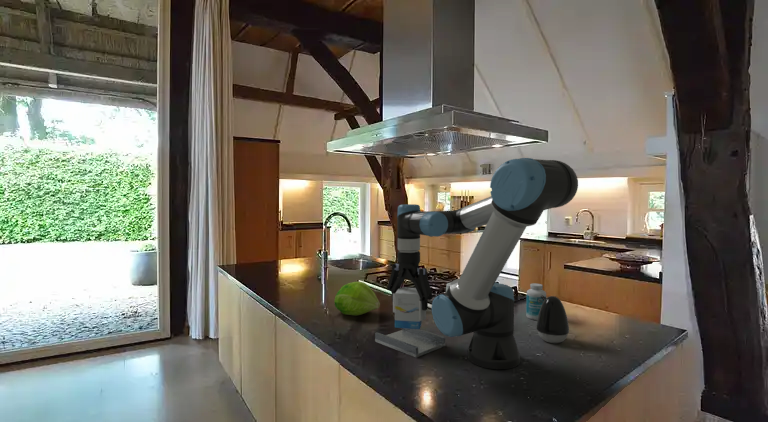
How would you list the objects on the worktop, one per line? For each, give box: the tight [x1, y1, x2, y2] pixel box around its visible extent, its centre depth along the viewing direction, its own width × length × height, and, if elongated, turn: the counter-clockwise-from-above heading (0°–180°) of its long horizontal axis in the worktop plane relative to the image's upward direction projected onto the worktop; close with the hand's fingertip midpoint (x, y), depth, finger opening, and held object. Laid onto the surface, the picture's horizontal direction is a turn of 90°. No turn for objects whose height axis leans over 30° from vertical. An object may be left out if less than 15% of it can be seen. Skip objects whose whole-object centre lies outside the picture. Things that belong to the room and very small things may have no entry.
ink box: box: [394, 287, 424, 329], centre depth 136 cm, size 8×8×12 cm
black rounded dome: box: [535, 295, 570, 344], centre depth 138 cm, size 10×10×15 cm
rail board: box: [374, 328, 446, 359], centre depth 137 cm, size 19×14×3 cm
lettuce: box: [333, 281, 381, 317], centre depth 170 cm, size 15×20×14 cm
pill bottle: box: [525, 282, 547, 321], centre depth 163 cm, size 8×7×14 cm
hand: (409, 315), depth 136 cm, fingers closed on ink box, 11 cm apart
